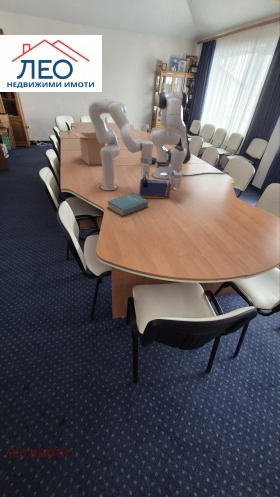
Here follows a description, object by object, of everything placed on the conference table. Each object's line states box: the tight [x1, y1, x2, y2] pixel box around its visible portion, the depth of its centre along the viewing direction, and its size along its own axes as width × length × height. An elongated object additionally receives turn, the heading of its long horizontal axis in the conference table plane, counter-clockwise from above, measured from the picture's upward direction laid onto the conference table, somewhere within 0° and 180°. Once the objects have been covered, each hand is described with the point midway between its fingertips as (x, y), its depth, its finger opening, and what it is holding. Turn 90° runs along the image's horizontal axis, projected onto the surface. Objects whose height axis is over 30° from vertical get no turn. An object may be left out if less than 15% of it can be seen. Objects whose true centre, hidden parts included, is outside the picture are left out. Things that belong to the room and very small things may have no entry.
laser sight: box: [139, 156, 157, 165], centre depth 240 cm, size 10×22×10 cm, turn 78°
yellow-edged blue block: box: [138, 178, 168, 199], centre depth 167 cm, size 20×6×12 cm, turn 97°
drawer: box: [165, 181, 177, 198], centre depth 168 cm, size 23×5×10 cm, turn 97°
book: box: [107, 192, 149, 217], centre depth 151 cm, size 23×16×5 cm
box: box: [70, 129, 106, 166], centre depth 229 cm, size 44×36×27 cm
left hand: (144, 185), depth 165 cm, fingers closed on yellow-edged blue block, 6 cm apart
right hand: (172, 189), depth 169 cm, fingers closed, pressing on drawer
